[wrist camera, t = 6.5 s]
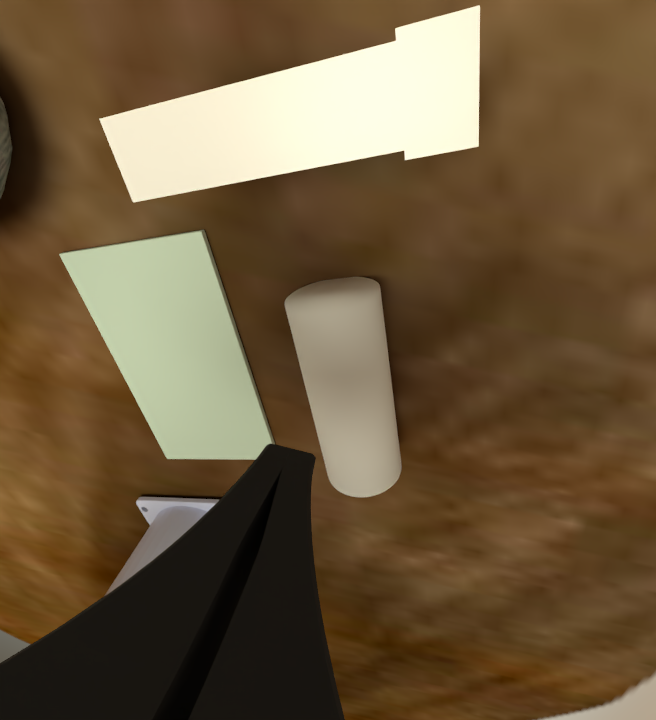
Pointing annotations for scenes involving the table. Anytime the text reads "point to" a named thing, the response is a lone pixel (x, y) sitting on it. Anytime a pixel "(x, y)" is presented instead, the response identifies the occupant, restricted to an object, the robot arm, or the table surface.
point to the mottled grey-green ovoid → (4, 147)
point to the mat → (175, 343)
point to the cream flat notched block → (311, 114)
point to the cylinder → (348, 381)
